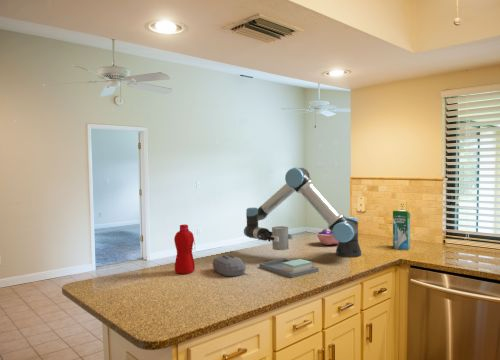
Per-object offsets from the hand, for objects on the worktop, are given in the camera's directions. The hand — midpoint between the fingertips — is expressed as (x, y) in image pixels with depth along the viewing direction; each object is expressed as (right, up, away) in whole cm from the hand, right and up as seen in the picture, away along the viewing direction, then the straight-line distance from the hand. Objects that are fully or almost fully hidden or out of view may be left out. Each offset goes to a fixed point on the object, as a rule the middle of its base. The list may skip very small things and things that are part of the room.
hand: (285, 238), depth 218 cm
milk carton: (+80, -11, +31) cm, 86 cm away
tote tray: (0, -14, -21) cm, 25 cm away
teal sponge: (+4, -13, -27) cm, 30 cm away
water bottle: (-54, -15, -20) cm, 59 cm away
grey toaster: (-31, -15, -21) cm, 40 cm away
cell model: (+36, -12, +46) cm, 59 cm away
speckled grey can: (-2, -7, +4) cm, 8 cm away
